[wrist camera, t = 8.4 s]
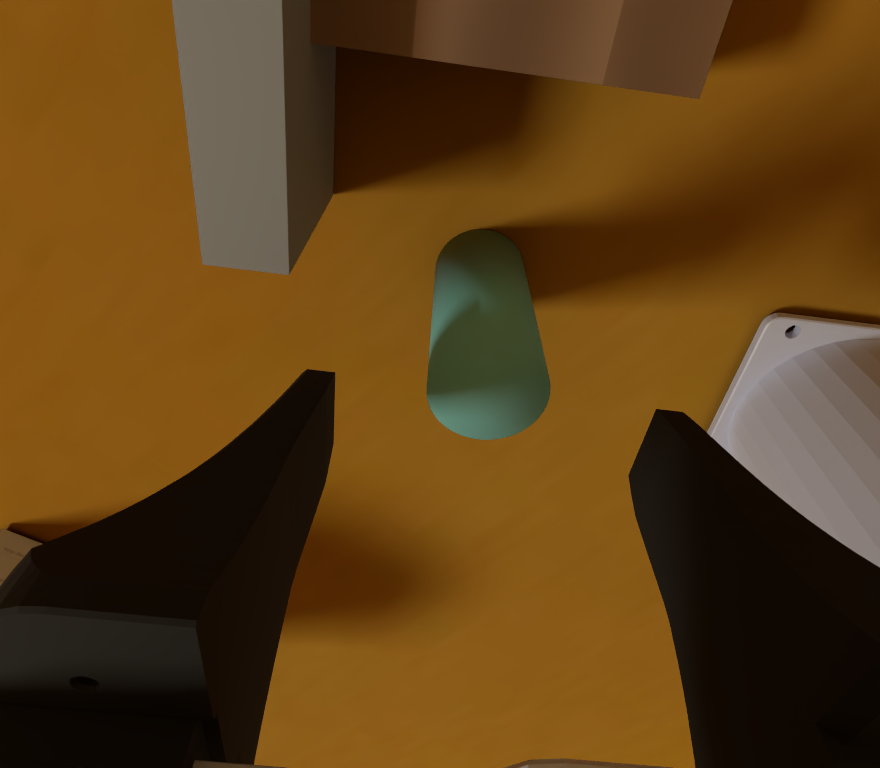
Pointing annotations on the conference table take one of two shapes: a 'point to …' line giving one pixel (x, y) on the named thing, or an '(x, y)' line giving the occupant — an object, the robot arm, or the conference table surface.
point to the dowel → (484, 340)
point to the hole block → (540, 37)
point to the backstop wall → (256, 128)
